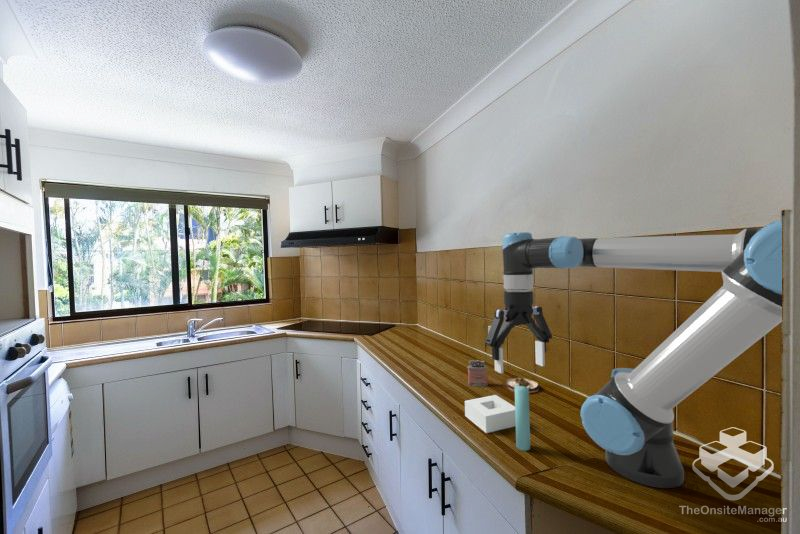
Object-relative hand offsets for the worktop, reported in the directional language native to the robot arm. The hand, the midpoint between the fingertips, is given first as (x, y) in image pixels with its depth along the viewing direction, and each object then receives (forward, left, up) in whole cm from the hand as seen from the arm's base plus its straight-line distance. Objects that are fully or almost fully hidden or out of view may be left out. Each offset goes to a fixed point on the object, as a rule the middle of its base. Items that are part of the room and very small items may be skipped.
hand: (520, 368), depth 90 cm
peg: (0, 0, -21) cm, 21 cm away
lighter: (+44, -14, -22) cm, 51 cm away
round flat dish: (+34, -28, -22) cm, 49 cm away
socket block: (+16, -1, -21) cm, 27 cm away
